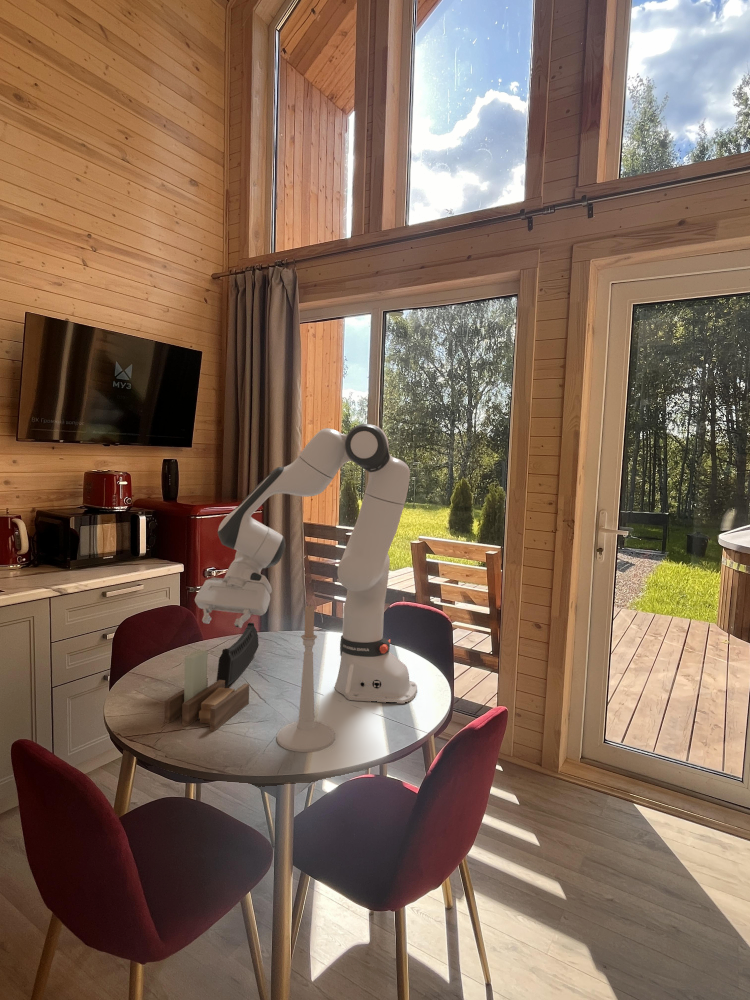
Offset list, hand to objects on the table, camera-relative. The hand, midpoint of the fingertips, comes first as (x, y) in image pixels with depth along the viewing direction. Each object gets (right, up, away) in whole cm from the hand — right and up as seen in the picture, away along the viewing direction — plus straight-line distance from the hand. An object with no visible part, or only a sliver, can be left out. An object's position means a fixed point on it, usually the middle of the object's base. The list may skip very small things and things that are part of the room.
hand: (221, 624), depth 149 cm
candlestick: (+25, -21, -22) cm, 39 cm away
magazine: (0, -18, +18) cm, 25 cm away
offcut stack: (+2, -19, -12) cm, 23 cm away
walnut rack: (0, -19, -11) cm, 22 cm away
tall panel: (-4, -19, -10) cm, 22 cm away
